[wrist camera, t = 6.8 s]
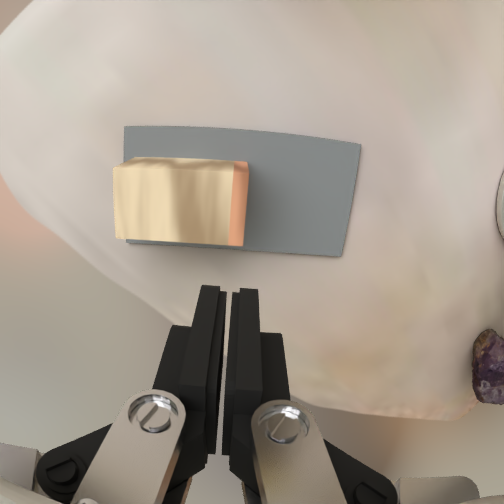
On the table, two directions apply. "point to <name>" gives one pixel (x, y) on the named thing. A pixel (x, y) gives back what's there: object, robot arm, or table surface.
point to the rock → (489, 368)
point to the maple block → (181, 200)
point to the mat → (269, 182)
